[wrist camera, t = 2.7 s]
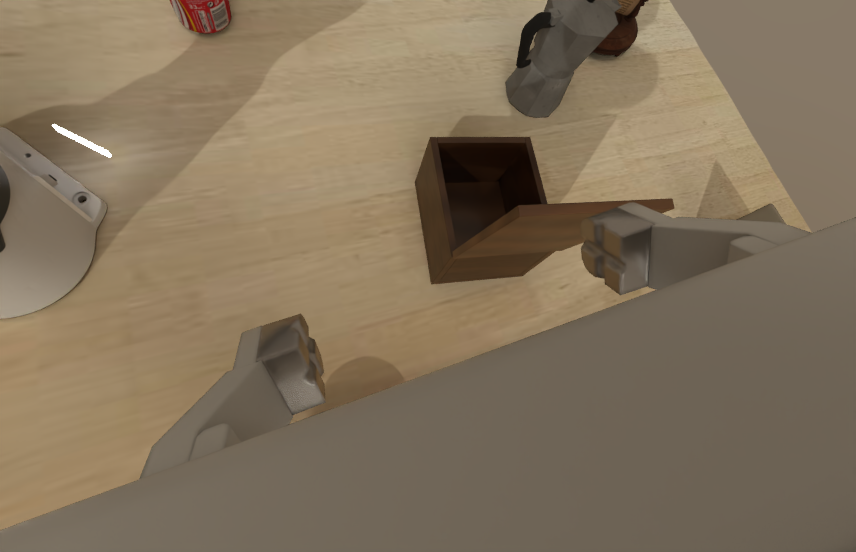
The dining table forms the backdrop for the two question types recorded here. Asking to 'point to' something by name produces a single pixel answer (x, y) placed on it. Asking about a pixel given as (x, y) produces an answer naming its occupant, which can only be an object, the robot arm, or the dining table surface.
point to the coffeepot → (557, 51)
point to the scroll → (622, 29)
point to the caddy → (474, 202)
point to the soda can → (203, 14)
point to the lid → (542, 228)
